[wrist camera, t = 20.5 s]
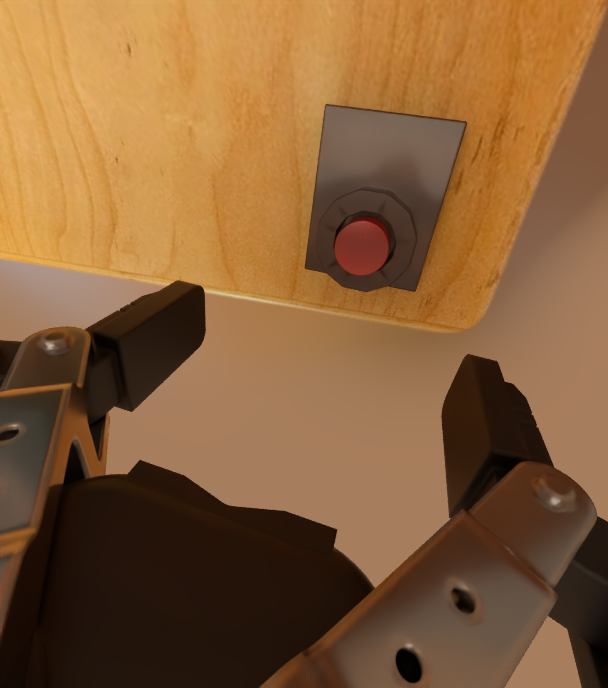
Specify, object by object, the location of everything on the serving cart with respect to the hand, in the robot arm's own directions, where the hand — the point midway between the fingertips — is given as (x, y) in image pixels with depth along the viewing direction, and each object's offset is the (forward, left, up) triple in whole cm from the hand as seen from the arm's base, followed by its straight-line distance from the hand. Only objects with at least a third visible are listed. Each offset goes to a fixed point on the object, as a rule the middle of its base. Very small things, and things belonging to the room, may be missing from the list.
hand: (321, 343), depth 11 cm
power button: (0, 0, -14) cm, 13 cm away
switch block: (+1, +2, -17) cm, 17 cm away
